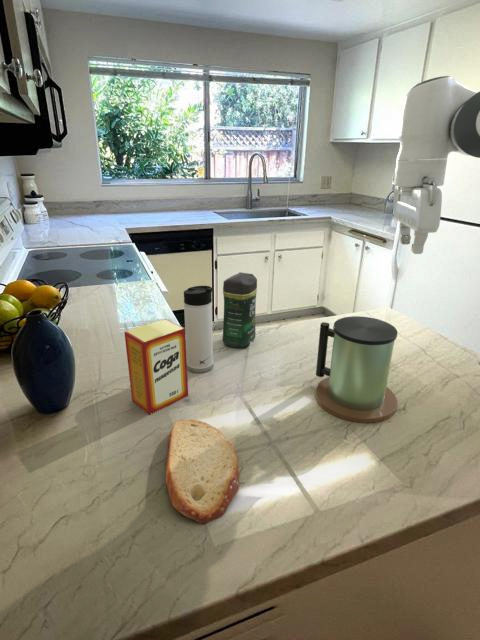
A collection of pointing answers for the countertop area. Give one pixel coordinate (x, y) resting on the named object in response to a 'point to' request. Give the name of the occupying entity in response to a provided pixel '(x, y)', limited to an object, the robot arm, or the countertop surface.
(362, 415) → the lidded mug on coaster
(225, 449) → the slice of bread
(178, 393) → the baking soda box
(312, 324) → the countertop surface
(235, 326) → the coffee jar
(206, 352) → the travel mug
